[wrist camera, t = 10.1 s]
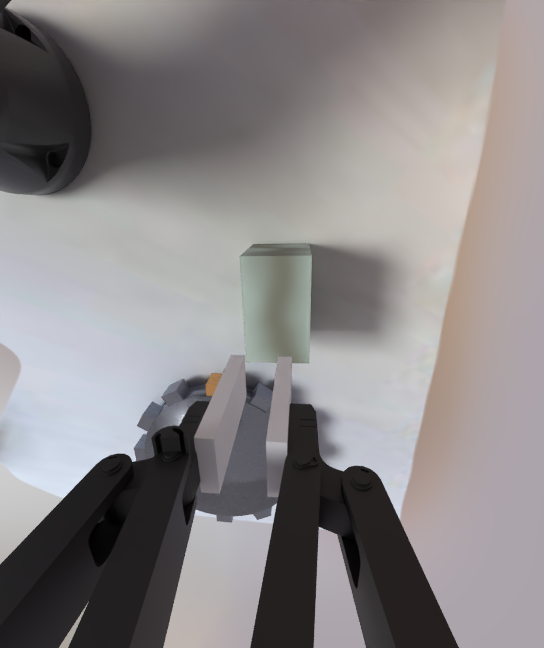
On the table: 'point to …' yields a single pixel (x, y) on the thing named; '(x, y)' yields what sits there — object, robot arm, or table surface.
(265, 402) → the sprocket wheel
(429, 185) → the table surface
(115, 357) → the table surface
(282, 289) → the link block
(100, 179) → the table surface
